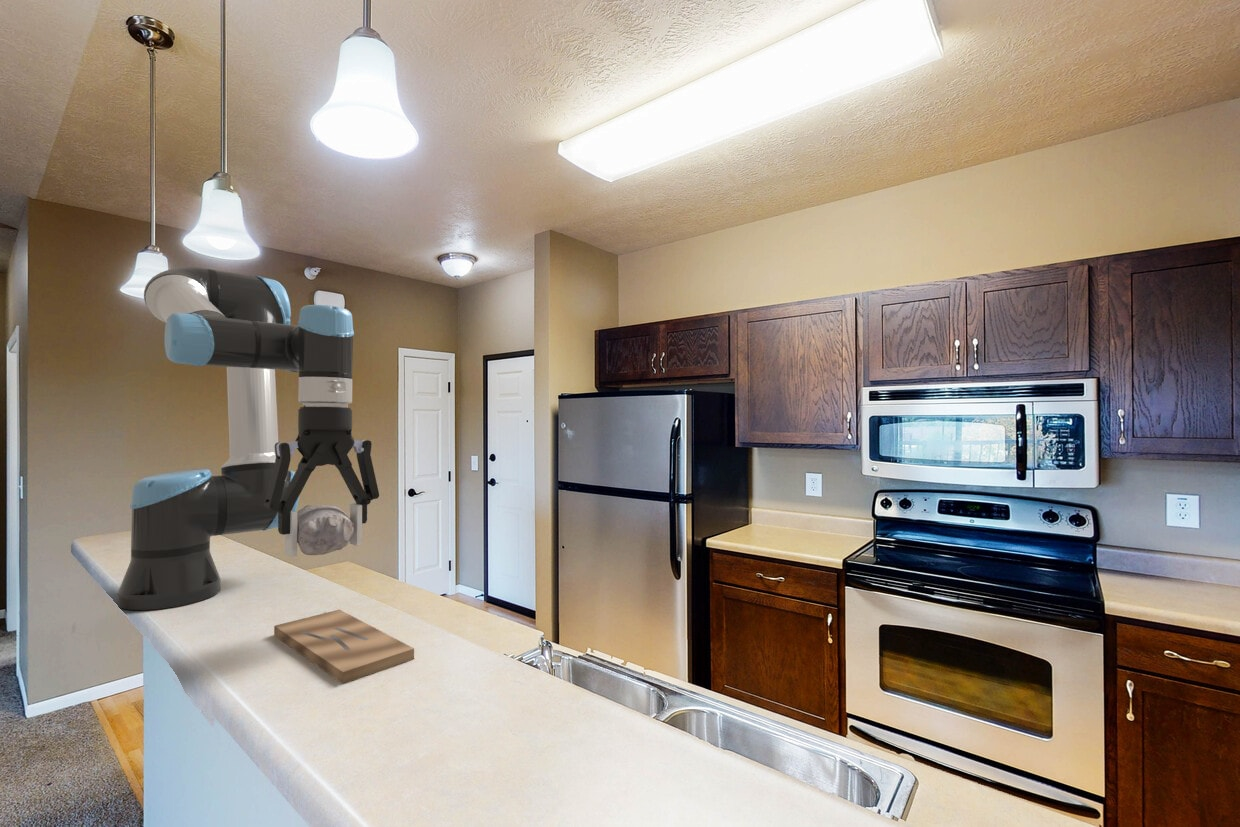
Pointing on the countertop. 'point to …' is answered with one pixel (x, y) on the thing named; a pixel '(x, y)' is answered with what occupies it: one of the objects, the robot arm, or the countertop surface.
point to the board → (343, 645)
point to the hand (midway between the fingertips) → (324, 549)
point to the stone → (323, 529)
